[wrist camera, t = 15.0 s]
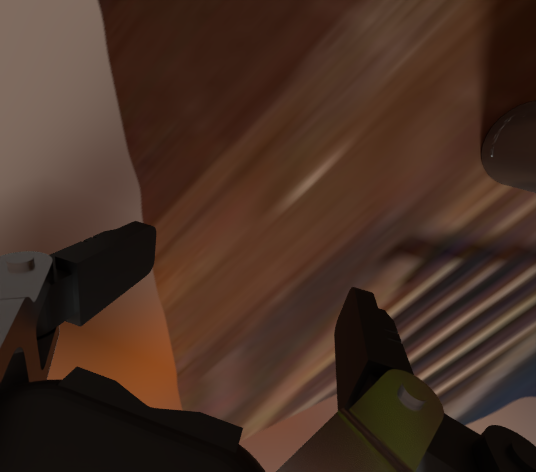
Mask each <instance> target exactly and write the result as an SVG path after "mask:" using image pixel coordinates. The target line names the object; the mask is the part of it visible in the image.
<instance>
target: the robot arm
mask: <svg viewBox="0 0 536 472" xmlns="http://www.w3.org/2000/svg"><path fill="white" fill-rule="evenodd" d="M482 163H483V166H484V169H485V170H486V172H487V173H488V175H489V176H490V177H491V178H493V179H494V180H495V181H497V182H499V183H501V184H504V185H508V186H512V187H516V188H520V189H523V190H527V191H530V192H534V193H536V101H532V102H528V103H525V104H522V105H520V106H517V107H516V108H514V109H512V110H510V111H509V112H507V113H506V114H505V115H503V116H502V117H501V118H500V119H499V120H498V121H497V122H496V123H495V124H494V125H493V126H492V128H491V129H490V131H489V132H488V134H487V136H486V138H485V141H484V143H483V147H482ZM155 245H156V229H155V227H154V226H151V225H147V224H144V223H141V222H137V221H134V222H131V223H129V224H127V225H125V226H122V227H120V228H118V229H114V230H110V231H104V232H102V233H100V234H97V235H95V236H93V238H92V237H90V238H88V239H86V240H84V241H83V242H79V243H76V244H74V245H72V246H69V247H67V248H64V249H62V250H60V251H58V252H55V253H53V254H51V255H47V254H45V253H41V252H34V251H25V252H15V253H10V254H6V255H2V256H0V472H265V470H264V469H263V468H262V466H261V465H260V464H259V463H258V461H257V460H256V459H255V458H254V457H253V456H252V455H251V454H250V453H249V452H248V451H247V450H246V449H244V448H243V447H242V446H241V445H239V441H240V437H241V433H242V430H243V428H241V427H239V426H236V425H233V424H231V423H228V422H225V421H222V420H220V419H217V418H214V417H212V416H209V415H206V414H204V413H201V412H192V411H181V410H169V409H158V408H151V407H149V406H147V405H145V404H144V403H143V402H142V401H140V400H139V399H138V398H137V397H135V396H134V395H133V394H131V393H130V392H129V391H128V390H126V389H125V388H124V387H123V386H122V385H120V384H119V383H118V382H116V381H115V380H112V379H109V378H107V377H104V376H101V375H99V374H96V373H93V372H90V371H88V370H85V369H82V368H80V367H76V368H75V369H74V370H73V371H72V372H70V373H69V374H68V375H67V376H66V377H65V378H64V379H63V380H47V377H48V373H49V369H50V366H51V362H52V359H53V355H54V351H55V347H56V344H57V340H58V336H59V332H60V330H59V325H60V324H61V323H63V322H64V321H66V322H69V323H72V324H75V325H78V326H82V325H83V324H85V323H86V322H87V321H89V320H90V319H91V318H92V317H94V316H95V315H96V314H98V313H99V312H100V311H101V310H103V309H104V308H105V307H106V306H108V305H109V304H110V303H112V302H113V301H114V300H116V299H117V298H118V297H120V295H122V294H123V293H125V292H126V291H127V290H129V289H130V288H131V287H133V286H134V285H135V284H136V283H138V282H139V281H140V280H142V279H143V278H144V277H145V276H147V275H148V274H149V273H150V271H151V269H152V267H153V265H154V260H155ZM334 338H335V359H336V380H337V401H338V412H337V413H336V414H335V415H334V416H333V417H332V418H331V419H330V420H329V421H328V422H326V423H325V424H324V426H323V427H321V428H320V429H319V430H318V431H317V432H316V433H315V434H314V435H313V436H312V437H311V438H310V439H309V440H308V441H307V442H306V443H305V444H304V445H303V446H302V447H301V448H300V449H299V450H298V451H297V452H296V453H295V454H294V455H293V456H292V457H291V458H289V459H288V460H287V461H286V462H285V463H284V464H283V465H282V466H281V467H280V468H279V469H278V470H277V471H276V472H536V447H535V446H534V445H533V444H532V443H531V442H529V441H528V440H527V439H525V438H524V437H522V436H521V435H519V434H518V433H516V432H514V431H512V430H510V429H508V428H505V427H502V426H498V425H491V426H488V427H487V428H486V429H485V431H484V432H483V433H482V434H481V435H480V434H478V433H476V432H475V431H473V430H471V429H469V428H468V427H466V426H464V425H463V424H461V423H459V422H458V421H456V420H454V419H453V418H451V417H449V416H448V415H446V414H445V413H444V410H443V406H442V404H441V402H440V400H439V398H438V397H437V395H436V394H435V393H434V392H433V390H432V389H431V388H430V387H429V386H428V385H427V384H425V383H424V382H423V381H422V380H420V379H419V378H418V377H416V376H414V374H413V371H412V368H411V366H410V363H409V360H408V358H407V355H406V352H405V350H404V347H403V344H401V339H400V336H399V334H398V331H397V328H396V326H395V323H394V321H393V320H392V318H391V317H390V316H389V315H388V314H387V313H386V311H385V310H382V309H379V308H378V306H377V303H376V300H375V297H374V294H373V293H372V292H368V291H365V290H362V289H358V288H355V287H352V288H351V289H350V291H349V293H348V295H347V298H346V300H345V303H344V305H343V308H342V310H341V312H340V315H339V317H338V320H337V323H336V327H335V334H334Z"/></svg>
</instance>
